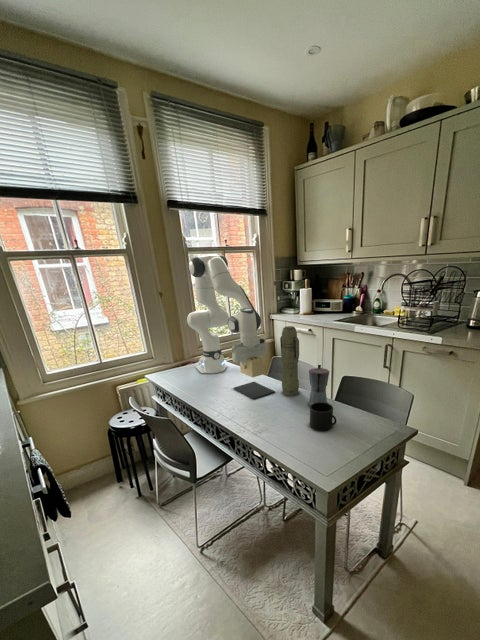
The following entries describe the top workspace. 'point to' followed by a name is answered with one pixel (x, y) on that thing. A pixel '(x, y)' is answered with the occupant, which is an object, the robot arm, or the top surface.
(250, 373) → the toaster
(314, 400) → the moka pot
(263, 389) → the mat
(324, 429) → the mug
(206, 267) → the robot arm
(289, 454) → the top surface
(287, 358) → the thermos
